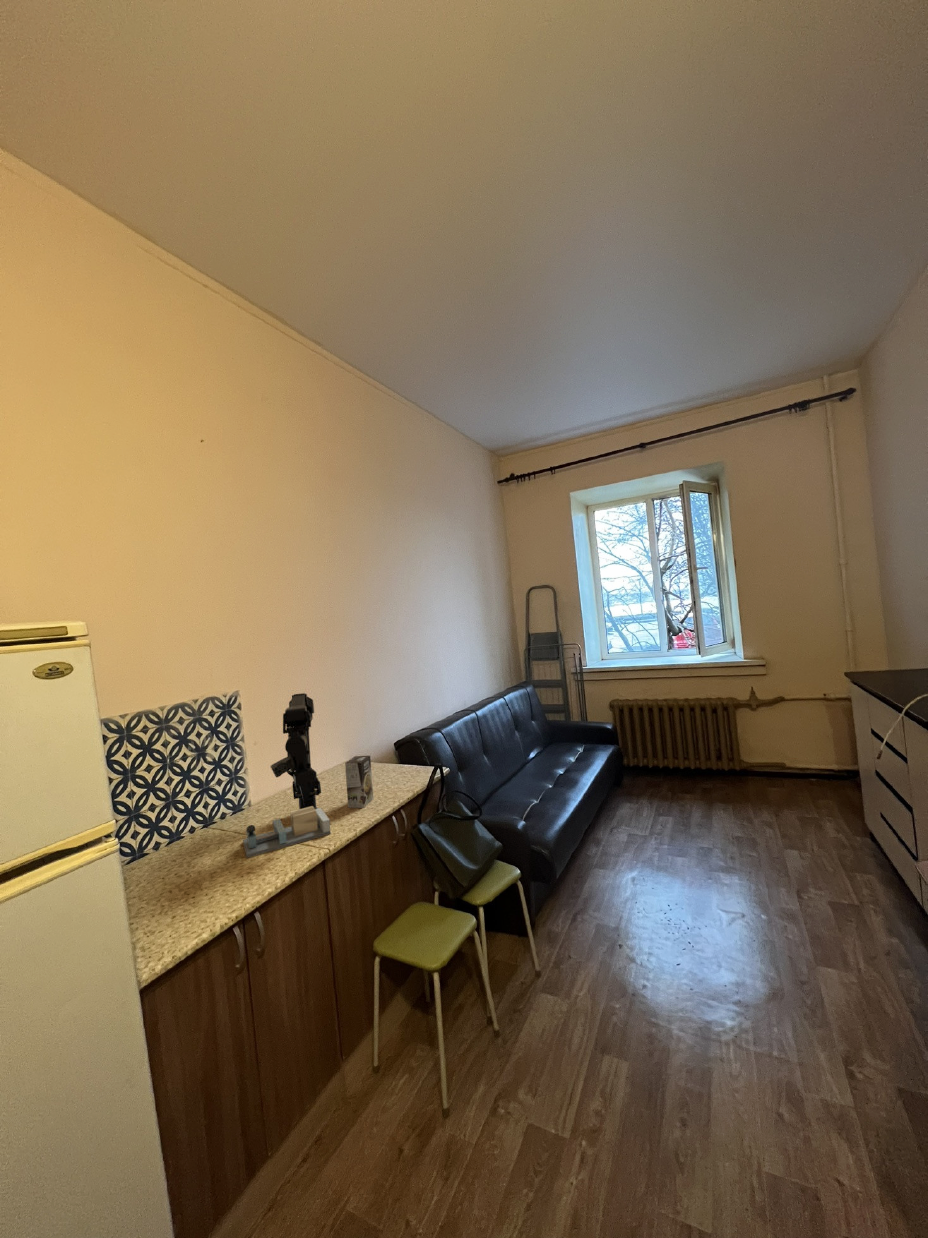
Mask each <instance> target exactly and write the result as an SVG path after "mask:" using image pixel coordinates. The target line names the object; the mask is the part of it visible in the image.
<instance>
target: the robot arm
mask: <svg viewBox="0 0 928 1238" xmlns="http://www.w3.org/2000/svg"><path fill="white" fill-rule="evenodd" d="M284 711H285V712H284V713H282V733H283V734H287V739H286V742H285V745H284V749H285V751H286V753H287V756H286V757H284V758H282V759H280V760H278V761H276V762H275V763H272V764H271V765H270V769H271V771H272V773H273V775H274V776H275V778H279V777H281V776H282V775H283V774H285V773H287V774H288V775H289V776H290V777H291V778H292V780H293V781H292V793H293V794H292V795H293V799H294V800H296V799H298V807H299V808H298V810H299V809H303V808H307V807H311V806H313V807H314V808H315V809H318V807H317V799H316V796H320V794H322V786H321V781H320V780H319V778H318V775H317V771H316V770H315V769H314V768H312V765H311V764H312V763H311V762H312V761H311V744H310V743H311V741H310V728H312V720H313V719H314V718H313V716H314V715H313V714H315V704H314V699H312V698H310V697H309V696H308V694H307V693H305V692H303V693H295V694H292V695H291V699H290V700H289V702H288V707H286V708H285V710H284Z"/></svg>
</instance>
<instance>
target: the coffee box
mask: <svg viewBox="0 0 928 1238" xmlns="http://www.w3.org/2000/svg"><path fill="white" fill-rule="evenodd" d="M371 759H372V758H371V755H356V756H354V757H351V759H349V760H348V761H346V762H345V763H344V767H345V782H346V795H347V807H348V808H352V809H353V808H356V809H359V808H361V809H363V808H365V807H366V806H367V805H368V804H369V803H370V802H371V801H372V800H373V799H374V789H373V788H374V787H373V785H374V784H373V775H372V773H373V772H372V760H371Z"/></svg>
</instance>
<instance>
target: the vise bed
mask: <svg viewBox="0 0 928 1238" xmlns="http://www.w3.org/2000/svg"><path fill="white" fill-rule="evenodd" d="M315 810H316V814H317V827H318V830H315V831H311V832H307V833H304V834H300V835H297V836H294V834H293V832H292V828H291V826H288V827H284V829H285V831H286V839H287V842H285V843H282V844H279V841H278V839H277V838H276V839H272V840H268V841H265V842H261V843H258V844H257V847H253V848H249V845H248V842H247V838H244V839H242V844H243V849H244V850H245V855H246V858H247V859H248V858H252V857H255V856H259V855H262V854H263V855H264V854H266V853H269V852H272V851H277V850H279V849H283V848H287V847H290V846H294V845H297V844H300V843H301V844H302V843H304V842H307V841H310V840H314V839H318V838H321V837H326V836H328V835H331V824H330V818H329V816H327V814H326V813H325V812H324V811H323V809H322V808H321V807H319V808H318V807H317V809H315ZM270 833H274V830H273V831H269V832H266V833H262V834H258V835H256V837H259V836H263V835H266V834H270Z"/></svg>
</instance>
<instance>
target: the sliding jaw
mask: <svg viewBox="0 0 928 1238" xmlns="http://www.w3.org/2000/svg"><path fill="white" fill-rule="evenodd" d="M272 826H273V828H272V829H273V831H274V833H270V834H266V835H263V836H259V837H256V836H257V835H256V832H255V830H256V827H255V825H253V824H249V825H248V826H247V827H246V839H247V842H248V845H249V848H253V847H257V844H258V843H261V842H265V841H268V840H272V839H276V838H277V839H278V841H279V844H282V843H285V842H287V839H286V831H285V829H284V828H285V826H284V825H283V823H282V821H281V819H280V818H276V819H272Z"/></svg>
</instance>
